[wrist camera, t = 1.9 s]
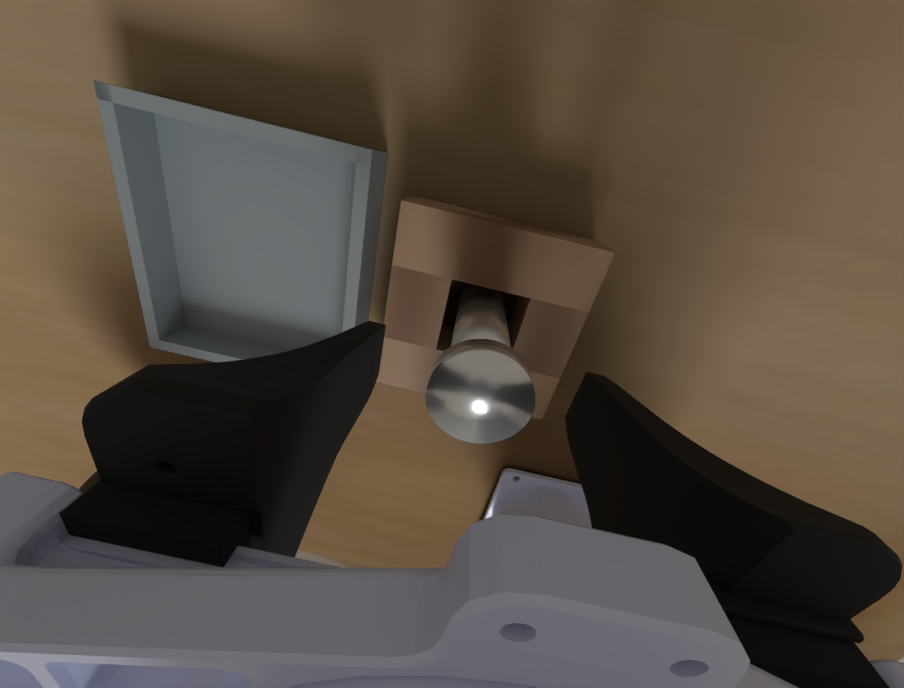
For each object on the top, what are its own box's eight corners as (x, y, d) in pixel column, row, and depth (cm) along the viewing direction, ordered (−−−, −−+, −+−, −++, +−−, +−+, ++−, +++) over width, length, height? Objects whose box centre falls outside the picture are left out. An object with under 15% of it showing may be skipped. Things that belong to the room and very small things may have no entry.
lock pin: (521, 280, 18) (551, 368, 10) (502, 337, 20) (516, 453, 12) (457, 265, 18) (437, 341, 10) (444, 323, 19) (417, 430, 11)
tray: (387, 152, 16) (372, 150, 14) (362, 369, 21) (348, 392, 19) (149, 93, 16) (93, 80, 13) (185, 328, 21) (150, 347, 19)
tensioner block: (594, 239, 17) (615, 252, 14) (534, 388, 21) (541, 420, 18) (414, 195, 17) (401, 200, 14) (389, 354, 21) (375, 381, 18)
